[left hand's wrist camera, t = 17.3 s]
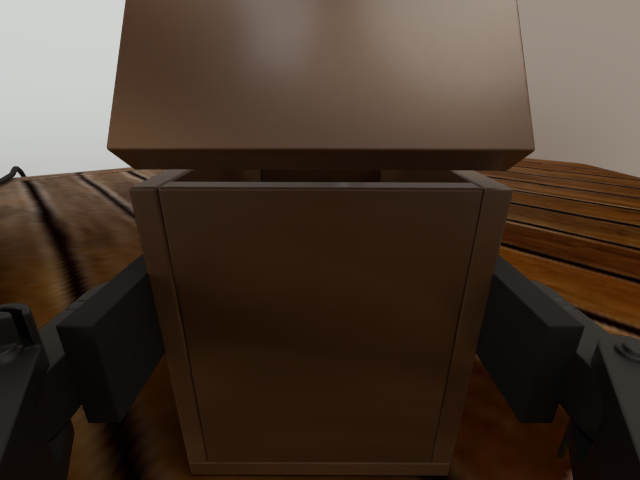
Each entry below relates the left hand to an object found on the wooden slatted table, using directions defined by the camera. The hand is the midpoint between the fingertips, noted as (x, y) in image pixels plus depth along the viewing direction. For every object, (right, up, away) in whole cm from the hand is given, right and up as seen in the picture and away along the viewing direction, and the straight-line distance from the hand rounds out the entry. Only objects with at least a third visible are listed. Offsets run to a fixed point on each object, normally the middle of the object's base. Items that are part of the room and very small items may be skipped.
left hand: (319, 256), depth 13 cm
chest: (0, -5, +6) cm, 8 cm away
